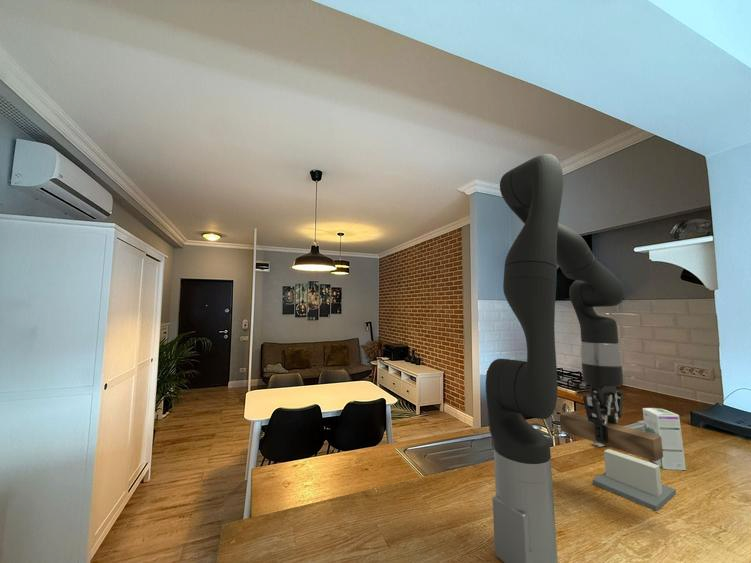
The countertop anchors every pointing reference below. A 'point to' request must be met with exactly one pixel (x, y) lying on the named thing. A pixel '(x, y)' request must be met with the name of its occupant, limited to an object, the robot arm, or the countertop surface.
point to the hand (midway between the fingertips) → (607, 439)
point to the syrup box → (666, 436)
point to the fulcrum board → (635, 492)
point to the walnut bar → (615, 436)
